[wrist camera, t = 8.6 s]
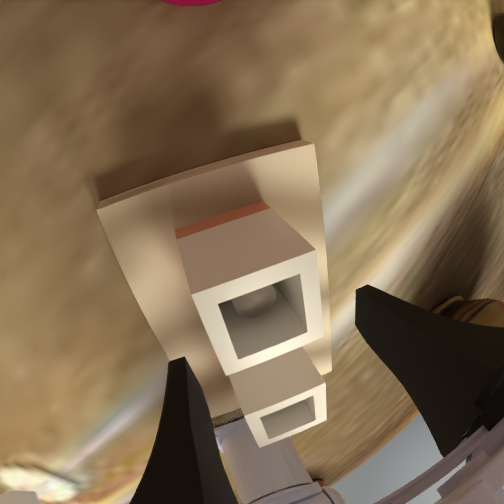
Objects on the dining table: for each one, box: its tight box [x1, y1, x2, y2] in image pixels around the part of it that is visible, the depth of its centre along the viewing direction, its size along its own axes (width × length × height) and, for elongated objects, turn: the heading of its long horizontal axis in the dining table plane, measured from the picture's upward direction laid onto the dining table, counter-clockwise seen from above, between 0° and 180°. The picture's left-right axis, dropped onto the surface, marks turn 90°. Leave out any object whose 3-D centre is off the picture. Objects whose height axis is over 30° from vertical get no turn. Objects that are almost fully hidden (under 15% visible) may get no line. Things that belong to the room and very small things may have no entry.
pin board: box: [96, 140, 332, 418], centre depth 19 cm, size 20×12×6 cm, turn 12°
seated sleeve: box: [228, 346, 326, 448], centre depth 20 cm, size 5×5×6 cm
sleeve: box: [174, 201, 324, 376], centre depth 16 cm, size 5×5×6 cm
